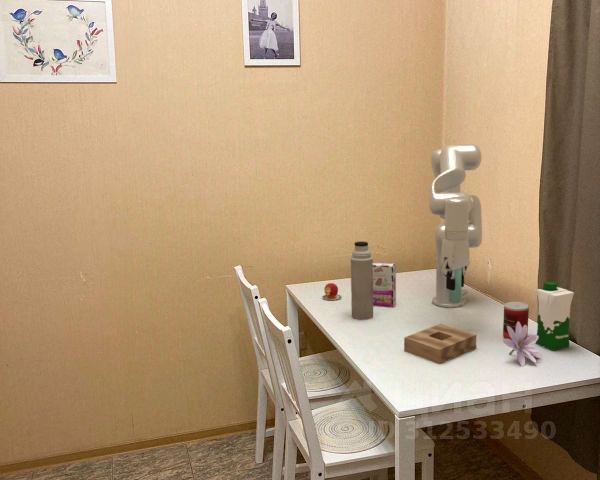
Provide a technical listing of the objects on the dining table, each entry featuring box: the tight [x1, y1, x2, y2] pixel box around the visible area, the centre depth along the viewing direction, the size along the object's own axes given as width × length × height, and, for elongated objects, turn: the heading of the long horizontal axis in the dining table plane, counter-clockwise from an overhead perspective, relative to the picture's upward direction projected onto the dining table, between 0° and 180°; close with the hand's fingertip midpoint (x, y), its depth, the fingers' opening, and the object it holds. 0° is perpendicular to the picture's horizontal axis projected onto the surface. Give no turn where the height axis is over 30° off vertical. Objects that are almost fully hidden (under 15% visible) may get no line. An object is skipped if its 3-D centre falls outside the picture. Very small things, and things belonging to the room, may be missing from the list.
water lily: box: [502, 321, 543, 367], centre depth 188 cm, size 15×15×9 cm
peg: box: [449, 267, 462, 303], centre depth 208 cm, size 4×4×16 cm
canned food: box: [502, 301, 530, 341], centre depth 204 cm, size 8×8×11 cm
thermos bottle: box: [350, 241, 374, 321], centre depth 228 cm, size 8×8×28 cm
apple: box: [321, 282, 343, 301], centre depth 253 cm, size 8×8×6 cm
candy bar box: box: [373, 261, 397, 308], centre depth 242 cm, size 11×5×16 cm, turn 68°
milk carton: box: [535, 281, 575, 352], centre depth 195 cm, size 9×9×20 cm
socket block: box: [403, 323, 477, 364], centre depth 197 cm, size 18×14×4 cm
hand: (455, 287), depth 208 cm, fingers closed on peg, 4 cm apart
